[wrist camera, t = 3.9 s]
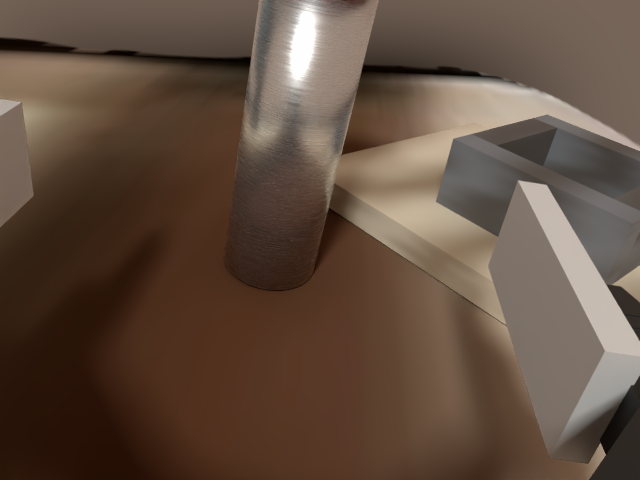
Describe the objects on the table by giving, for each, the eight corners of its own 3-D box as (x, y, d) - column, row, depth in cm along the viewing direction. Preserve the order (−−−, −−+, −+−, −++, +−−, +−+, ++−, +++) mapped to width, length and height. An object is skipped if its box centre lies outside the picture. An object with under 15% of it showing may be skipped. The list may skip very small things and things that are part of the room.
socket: (300, 188, 33) (312, 102, 30) (468, 143, 43) (489, 74, 40) (714, 463, 20) (797, 353, 17) (819, 307, 30) (882, 222, 27)
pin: (181, 242, 26) (214, -123, 19) (281, 218, 30) (343, -98, 22) (252, 318, 23) (326, -87, 15) (356, 280, 26) (457, -65, 19)
